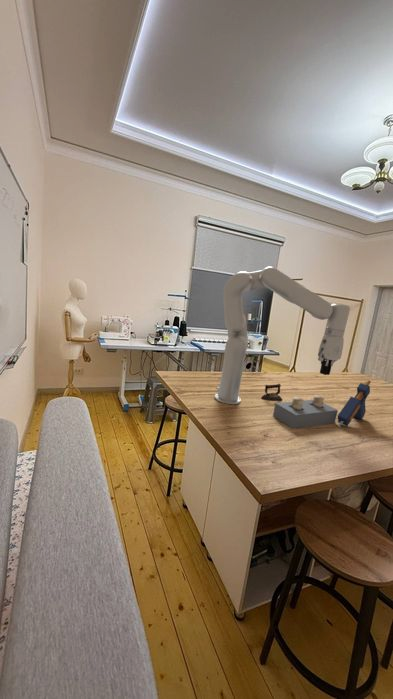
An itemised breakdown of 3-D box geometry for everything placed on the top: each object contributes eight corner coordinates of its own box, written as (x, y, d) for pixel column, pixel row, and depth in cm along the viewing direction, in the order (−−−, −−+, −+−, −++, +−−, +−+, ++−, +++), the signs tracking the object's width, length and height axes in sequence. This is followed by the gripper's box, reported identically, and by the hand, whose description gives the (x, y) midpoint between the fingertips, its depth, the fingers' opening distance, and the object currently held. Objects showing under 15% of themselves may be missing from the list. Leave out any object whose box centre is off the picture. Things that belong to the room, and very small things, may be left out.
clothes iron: (283, 401, 149) (284, 384, 145) (265, 407, 144) (266, 390, 140) (274, 394, 155) (275, 378, 151) (257, 400, 150) (258, 383, 146)
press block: (272, 415, 127) (275, 403, 125) (313, 411, 139) (315, 399, 138) (293, 428, 116) (296, 415, 115) (334, 422, 129) (337, 410, 128)
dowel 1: (288, 408, 124) (290, 397, 123) (295, 407, 127) (298, 396, 126) (296, 412, 121) (298, 401, 120) (303, 411, 123) (305, 400, 122)
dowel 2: (309, 406, 131) (311, 395, 130) (315, 405, 133) (318, 395, 132) (317, 410, 127) (319, 399, 126) (323, 409, 129) (326, 398, 128)
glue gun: (335, 442, 132) (333, 422, 124) (359, 396, 147) (359, 375, 139) (350, 448, 128) (348, 427, 120) (373, 399, 143) (373, 378, 134)
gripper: (329, 334, 116) (319, 377, 120) (353, 335, 123) (343, 376, 127) (314, 330, 122) (305, 371, 126) (338, 332, 130) (328, 371, 133)
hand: (324, 373), depth 127 cm, fingers closed
